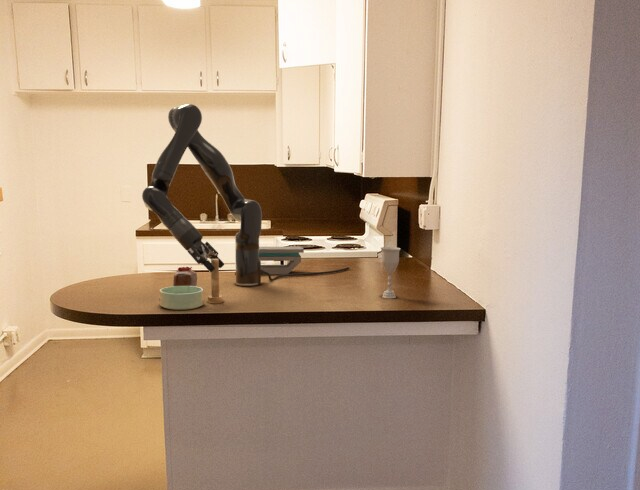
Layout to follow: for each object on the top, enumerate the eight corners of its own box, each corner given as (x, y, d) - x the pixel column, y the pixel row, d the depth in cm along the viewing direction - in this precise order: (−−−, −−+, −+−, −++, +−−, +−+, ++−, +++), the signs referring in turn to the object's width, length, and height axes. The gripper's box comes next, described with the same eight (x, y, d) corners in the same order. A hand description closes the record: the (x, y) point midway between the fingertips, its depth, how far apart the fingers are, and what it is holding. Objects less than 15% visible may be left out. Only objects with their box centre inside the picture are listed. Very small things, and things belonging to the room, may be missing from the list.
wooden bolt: (220, 299, 233) (220, 257, 230) (224, 302, 228) (223, 260, 225) (206, 300, 231) (205, 258, 228) (209, 303, 226) (209, 260, 223)
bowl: (198, 300, 232) (198, 284, 231) (207, 308, 219) (207, 292, 218) (157, 302, 227) (156, 287, 226) (163, 311, 214) (163, 295, 213)
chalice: (400, 296, 245) (402, 247, 241) (396, 299, 238) (398, 250, 235) (381, 294, 247) (383, 246, 243) (376, 297, 241) (378, 248, 237)
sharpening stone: (245, 274, 282) (245, 249, 280) (244, 271, 290) (244, 246, 288) (303, 274, 286) (303, 249, 284) (301, 271, 293) (301, 246, 291)
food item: (176, 289, 249) (175, 263, 248) (197, 289, 250) (197, 263, 248) (172, 296, 236) (171, 269, 234) (195, 296, 237) (194, 269, 235)
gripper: (184, 228, 219) (217, 264, 219) (201, 224, 233) (232, 258, 233) (170, 243, 221) (202, 279, 221) (187, 238, 235) (218, 272, 235)
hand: (217, 268), depth 227 cm, fingers open, 8 cm apart
